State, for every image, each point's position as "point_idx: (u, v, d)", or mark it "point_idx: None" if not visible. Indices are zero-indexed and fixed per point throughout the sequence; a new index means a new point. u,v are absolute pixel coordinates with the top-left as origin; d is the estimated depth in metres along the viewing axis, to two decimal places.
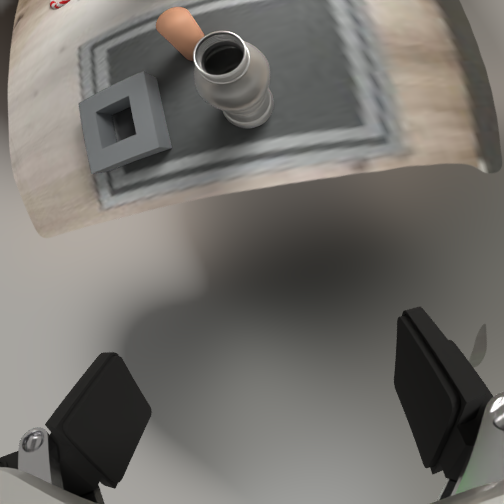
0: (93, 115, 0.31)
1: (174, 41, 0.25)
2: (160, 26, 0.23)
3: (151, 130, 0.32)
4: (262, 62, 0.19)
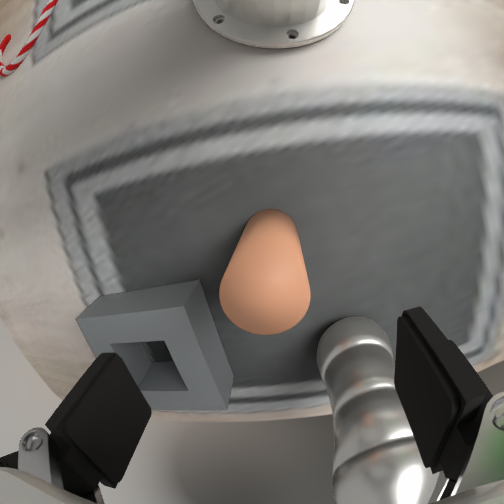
0: (107, 346, 0.22)
1: None
2: (232, 306, 0.13)
3: (213, 392, 0.22)
4: None
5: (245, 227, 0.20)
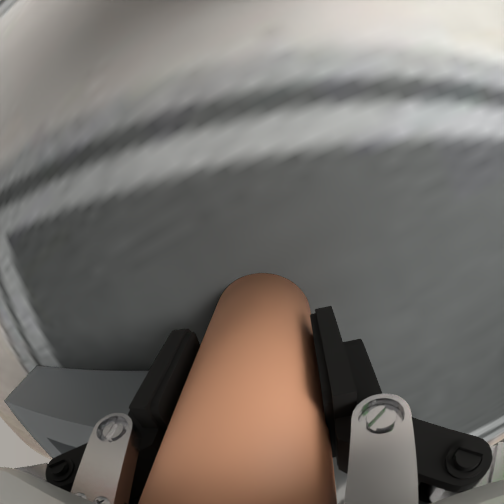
0: (45, 439, 0.12)
1: None
2: None
3: None
4: None
5: (212, 318, 0.10)
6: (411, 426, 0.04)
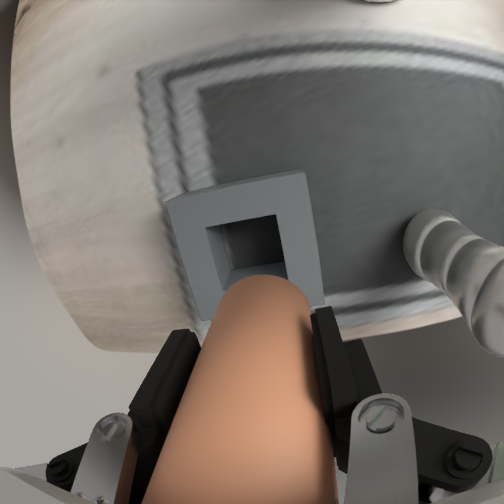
0: (200, 232, 0.23)
1: None
2: None
3: (315, 279, 0.23)
4: None
5: (213, 320, 0.10)
6: (411, 426, 0.04)
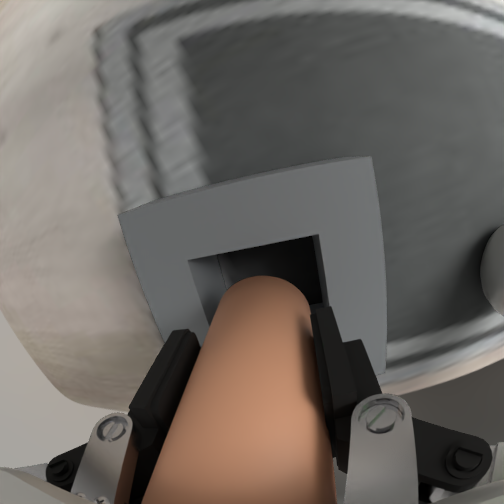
0: (179, 269, 0.12)
1: None
2: None
3: (376, 340, 0.13)
4: None
5: (213, 321, 0.10)
6: (411, 426, 0.04)
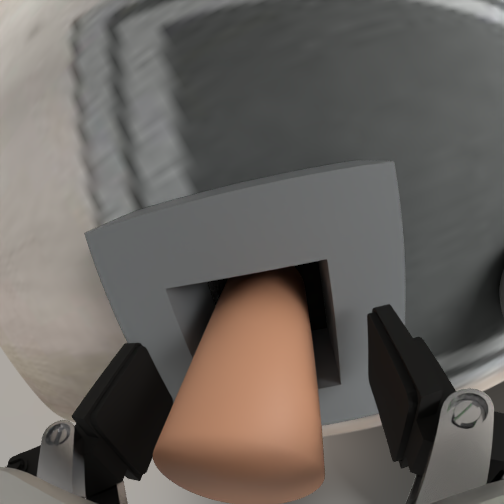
0: (157, 299, 0.10)
1: None
2: (181, 479, 0.05)
3: None
4: None
5: (223, 290, 0.12)
6: (490, 425, 0.03)
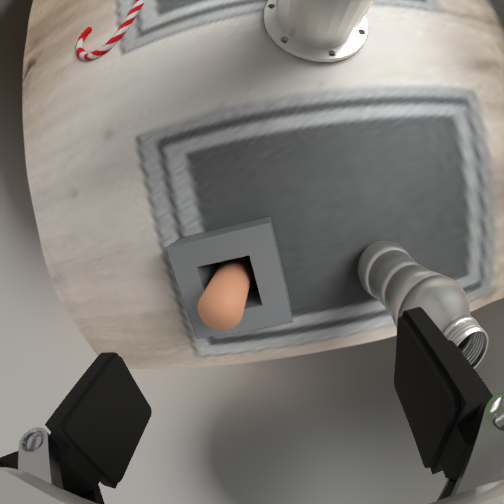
0: (193, 270, 0.30)
1: None
2: (204, 315, 0.25)
3: (283, 303, 0.30)
4: None
5: (217, 269, 0.32)
6: None
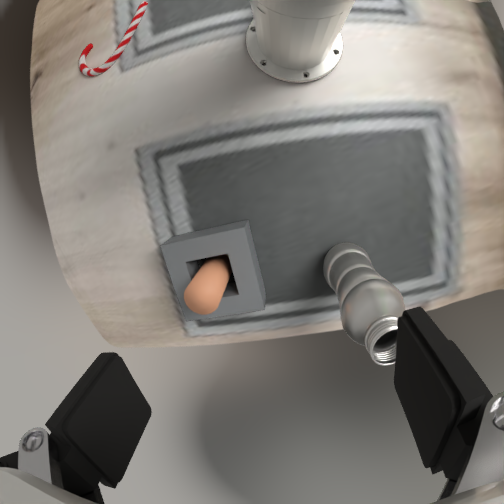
0: (182, 265, 0.36)
1: None
2: (189, 302, 0.31)
3: (256, 293, 0.36)
4: None
5: (203, 263, 0.38)
6: None
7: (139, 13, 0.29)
